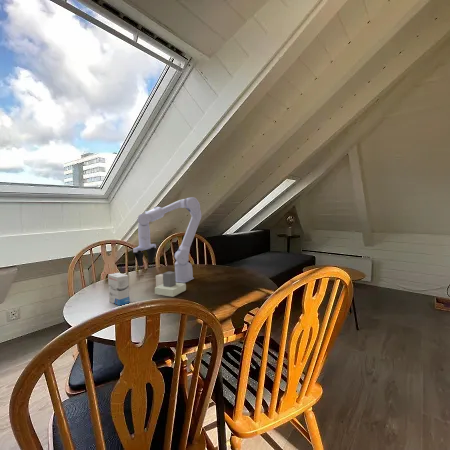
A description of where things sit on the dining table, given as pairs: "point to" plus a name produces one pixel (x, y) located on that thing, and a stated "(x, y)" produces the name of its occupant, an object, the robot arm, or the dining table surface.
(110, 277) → the ink box
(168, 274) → the grey rectangular prism
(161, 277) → the off-white pillar
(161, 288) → the sage board
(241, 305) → the dining table surface
